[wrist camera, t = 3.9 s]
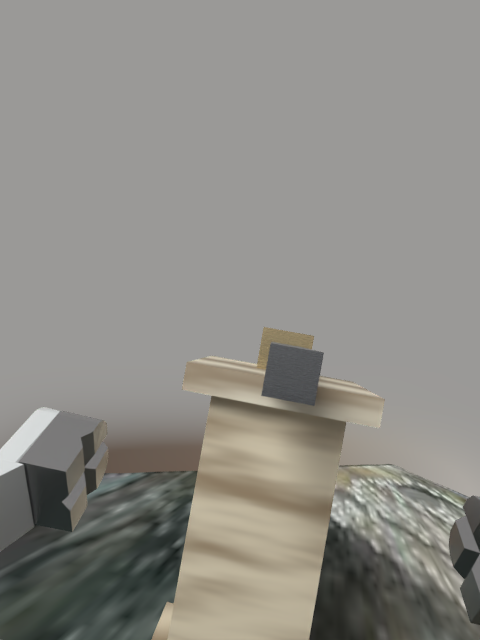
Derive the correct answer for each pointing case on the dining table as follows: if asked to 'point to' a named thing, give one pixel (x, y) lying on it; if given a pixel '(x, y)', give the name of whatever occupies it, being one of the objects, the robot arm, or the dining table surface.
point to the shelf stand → (260, 505)
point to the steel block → (289, 366)
